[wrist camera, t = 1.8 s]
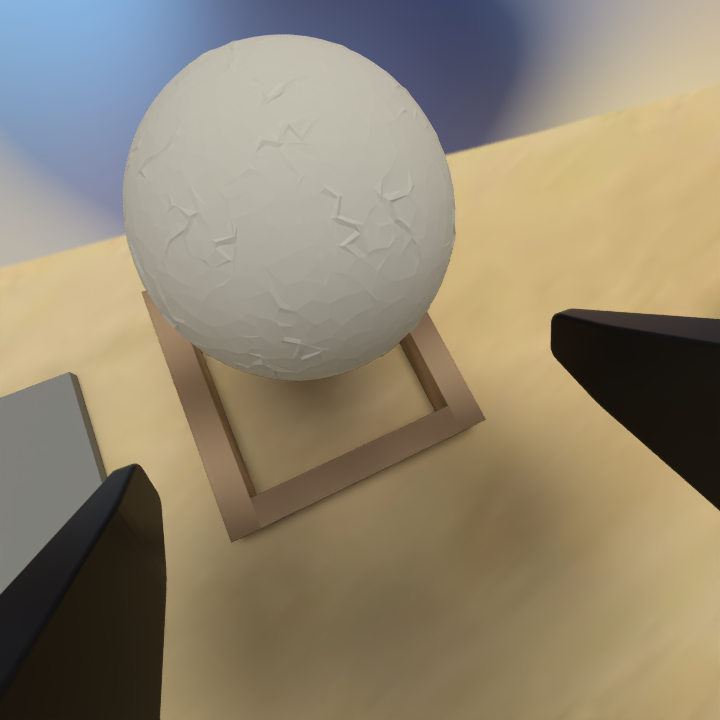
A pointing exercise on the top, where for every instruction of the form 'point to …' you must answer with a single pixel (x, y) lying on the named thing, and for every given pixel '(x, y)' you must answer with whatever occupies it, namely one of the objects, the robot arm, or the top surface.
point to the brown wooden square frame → (258, 511)
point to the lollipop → (288, 207)
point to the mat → (43, 467)
